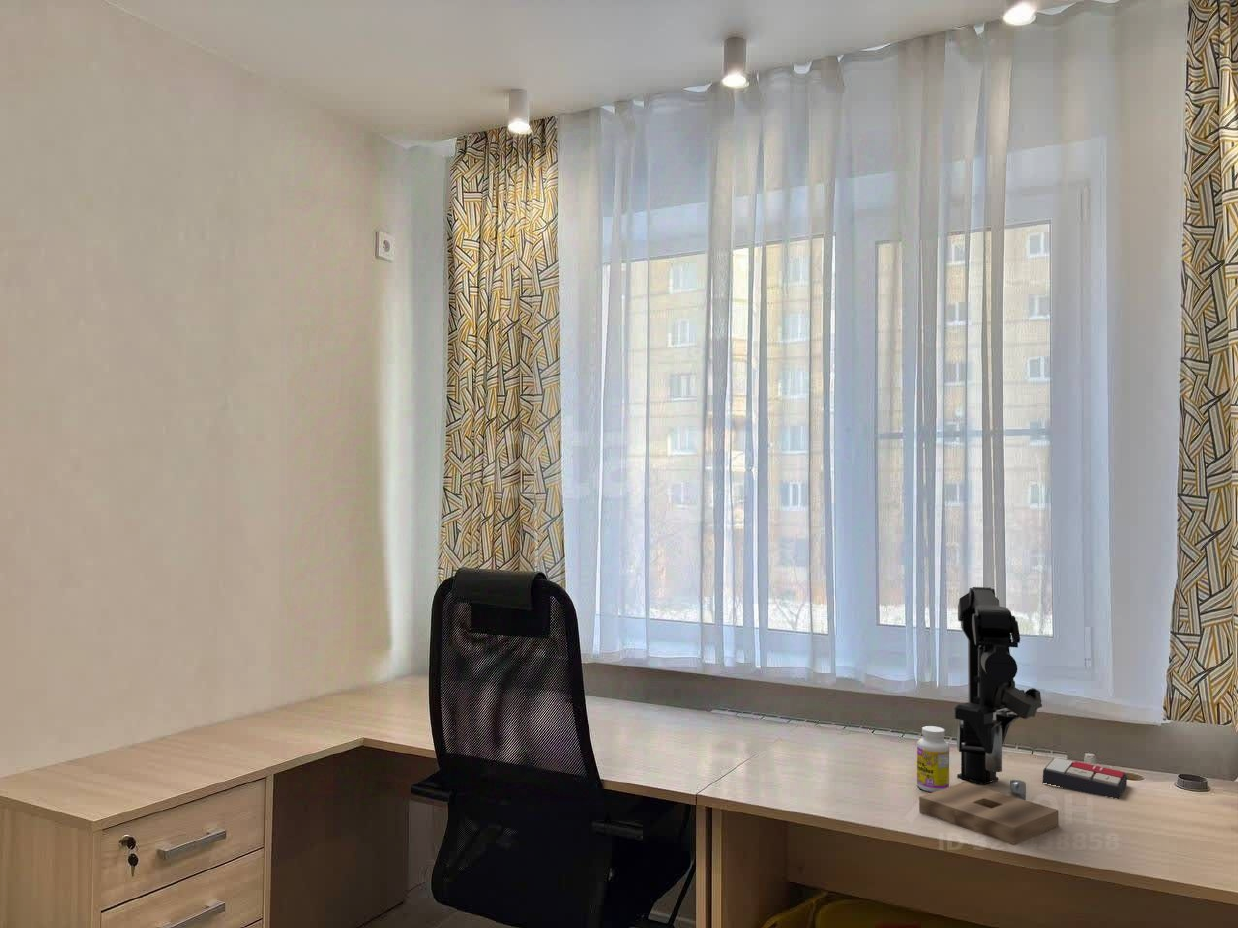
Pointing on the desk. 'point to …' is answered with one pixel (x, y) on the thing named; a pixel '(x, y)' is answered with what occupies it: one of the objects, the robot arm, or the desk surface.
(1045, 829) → the walnut hole board
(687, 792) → the desk surface
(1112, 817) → the desk surface
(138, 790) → the desk surface
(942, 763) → the supplement bottle
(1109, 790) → the dark boxy piece
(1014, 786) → the short metal pin
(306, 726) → the desk surface
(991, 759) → the long metal pin
